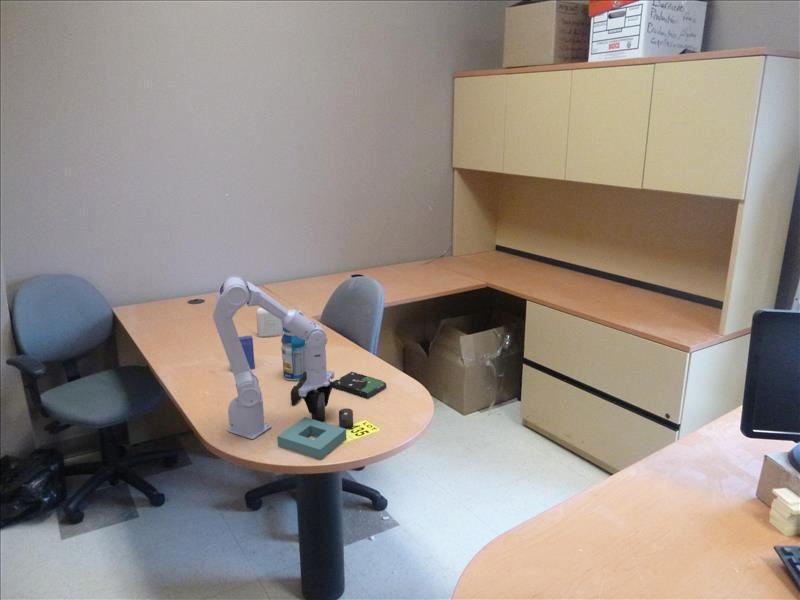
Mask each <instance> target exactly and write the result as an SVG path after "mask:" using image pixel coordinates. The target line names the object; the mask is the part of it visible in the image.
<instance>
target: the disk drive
mask: <svg viewBox="0 0 800 600" xmlns="http://www.w3.org/2000/svg"><path fill="white" fill-rule="evenodd" d="M332 382H334V386H333V388H332V389H335V388H336V389H335V390H337V389H338V390H337V391H341V392H345V393H347V394H350V395H353V396H356V397H359V398H361V399H366V400H369V399H371V398H373V397H374V396H376V395H377V394H379V393H381V392H382V391H384V390H385V388H386V389H387V383H386V382H385V381H383V380H382V379H377V378H375V377H371V376H368V375H364V374H362V373H358V372H354V371H350V372H348V373H346V374H345V375H343V376H341V377H340V378H339V379H336V380H333V381H332Z"/></svg>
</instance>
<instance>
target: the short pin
mask: <svg viewBox="0 0 800 600" xmlns="http://www.w3.org/2000/svg"><path fill="white" fill-rule="evenodd" d="M338 424H339V426H338V427H341V428H344V429H346V430H351V429H352V428H353V427H354V410H353V409H351V408H341V409H340V410H338Z"/></svg>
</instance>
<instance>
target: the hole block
mask: <svg viewBox="0 0 800 600" xmlns="http://www.w3.org/2000/svg"><path fill="white" fill-rule="evenodd" d="M310 436H312V437H316V438H315V439H312V438H309V437H310ZM276 439H277V446H278V447H280V448H283V449H286V450H289V451H292V452H296V453H298V454H302V455H304V456H307V457H310V458H314V459H317V460H320V461H321V460H322V459H324V457H326V456H327V455H328V454H330V453H331V452H332V451H333V450H334V449H336V448H337V447H338V446H340V444H342V443H343V442H344V441H345V440H347V429H344V428H341V427H339V426H338V425H333V424H331V423H330V424H329V423H326V422H325V421H324V422H320V421H317V420H313V419H312V418H309V417H306V416H304V417H302V419H300V420H299V421H297V422H296V423H294V424H293V425H292V426H290V427H288V428H287V429H286V430H283V432H282V433H280V434H278V435H277V438H276Z"/></svg>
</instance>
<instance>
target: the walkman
mask: <svg viewBox="0 0 800 600" xmlns="http://www.w3.org/2000/svg"><path fill="white" fill-rule="evenodd" d="M239 339H240V342H241V345H242V347H243V350H244V353H245V356H246V359H247V362H248V364H249V367H250V369H251V370H255V369H256V368H255V367H256V366H255V355H254V338H253V336H252V335H249V334H247V335H246V334H245V335H244V336H243V335H242V336H239ZM231 373H233V371H232V370H231Z"/></svg>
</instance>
